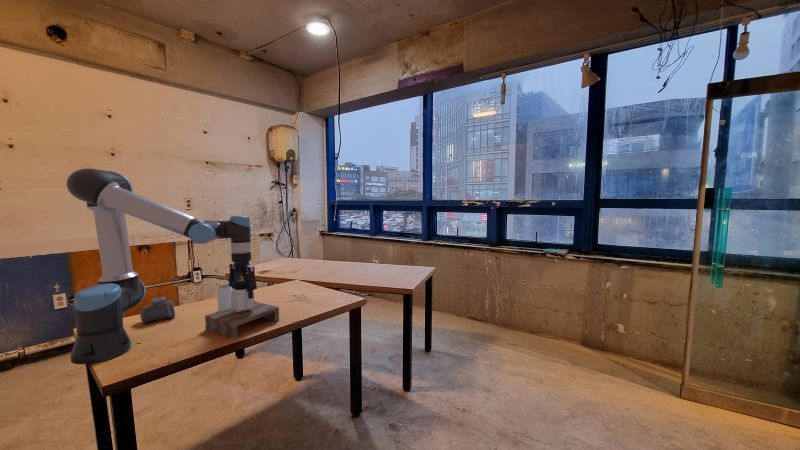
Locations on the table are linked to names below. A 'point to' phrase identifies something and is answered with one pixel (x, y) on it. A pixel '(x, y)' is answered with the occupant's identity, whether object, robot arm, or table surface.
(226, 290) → the can
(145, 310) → the pipe fitting
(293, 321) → the table surface
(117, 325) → the robot arm
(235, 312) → the shelf stand
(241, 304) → the medicine bottle
